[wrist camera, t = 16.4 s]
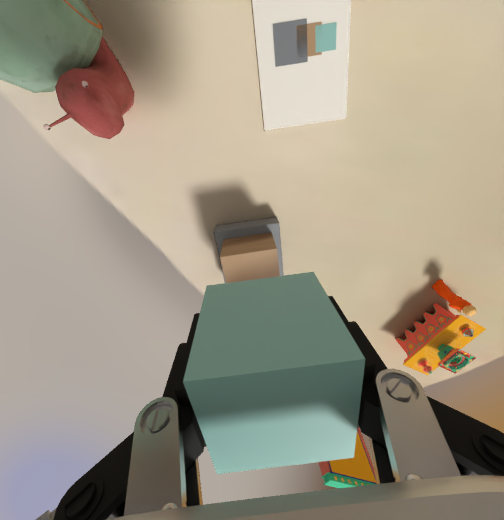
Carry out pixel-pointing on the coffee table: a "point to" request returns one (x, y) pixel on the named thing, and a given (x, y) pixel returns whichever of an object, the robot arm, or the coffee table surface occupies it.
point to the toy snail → (64, 61)
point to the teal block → (274, 375)
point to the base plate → (250, 229)
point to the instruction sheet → (302, 60)
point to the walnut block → (249, 258)
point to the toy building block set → (423, 360)
